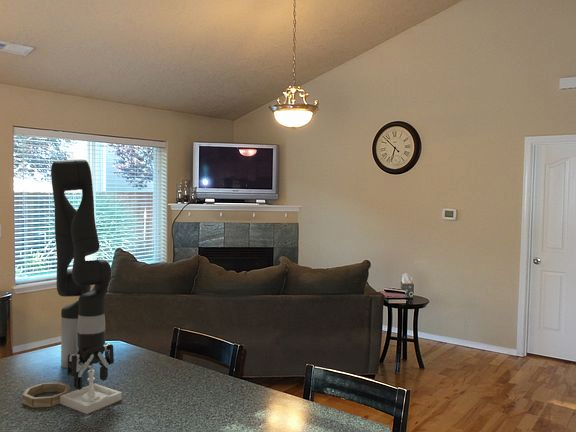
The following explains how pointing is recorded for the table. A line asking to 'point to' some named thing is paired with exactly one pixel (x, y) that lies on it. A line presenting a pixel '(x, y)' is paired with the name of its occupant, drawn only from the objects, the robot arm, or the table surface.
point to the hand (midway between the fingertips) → (91, 384)
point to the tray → (77, 403)
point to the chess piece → (91, 387)
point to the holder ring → (44, 401)
